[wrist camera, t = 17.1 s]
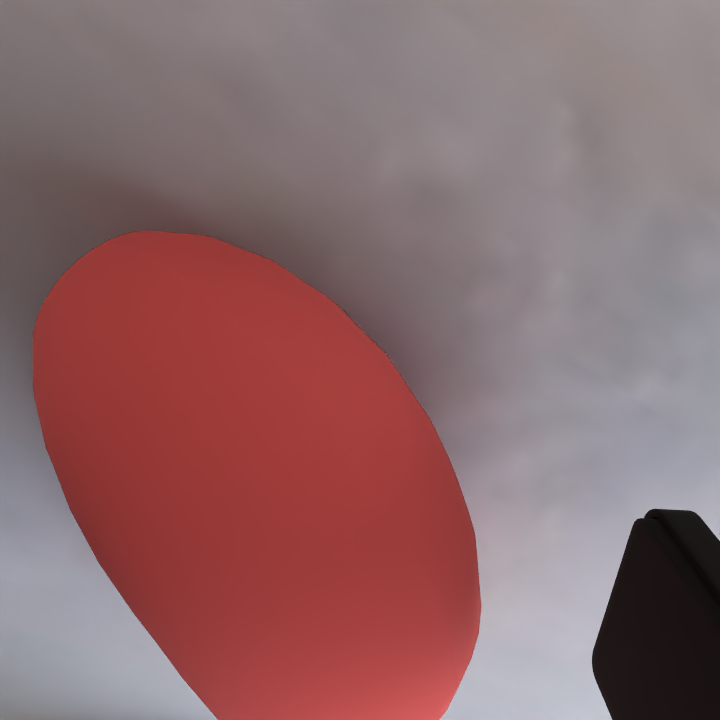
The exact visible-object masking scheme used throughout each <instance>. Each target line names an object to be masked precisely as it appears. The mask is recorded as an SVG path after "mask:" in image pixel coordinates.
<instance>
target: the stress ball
mask: <svg viewBox="0 0 720 720" xmlns="http://www.w3.org/2000/svg"><path fill="white" fill-rule="evenodd" d="M33 390H34V398H35V402H36V407H37V411H38V415H39V420H40V424H41V428H42V433H43V437H44V441H45V446H46V449H47V452H48V454H49V456H50V459H51V461H52V464H53V466H54V469H55V471H56V474H57V477H58V479H59V482H60V484H61V487H62V490H63V492H64V495H65V498H66V500H67V503H68V505H69V508H70V510H71V512H72V514H73V516H74V518H75V519H76V521H77V523H78V525H79V527H80V529H81V531H82V533H83V534H84V536H85V538H86V540H87V542H88V544H89V546H90V547H91V549H92V551H93V553H94V555H95V557H96V559H97V560H98V562H99V564H100V565H101V567H102V568H103V570H104V571H105V573H106V574H107V576H108V577H109V578H110V580H111V581H112V583H113V584H114V586H115V587H116V589H117V590H118V591H119V593H120V594H121V596H122V597H123V599H124V600H125V602H126V603H127V604H128V606H129V607H130V609H131V610H132V612H133V613H134V614H135V616H136V617H137V618H138V619H139V621H140V622H141V623H142V625H143V626H144V627H145V629H146V630H147V631H148V632H149V634H150V635H151V636H152V638H153V639H154V640H155V642H156V643H157V644H158V646H159V647H160V648H161V650H162V651H163V652H164V654H165V655H166V656H167V658H168V659H169V660H170V662H171V663H172V664H173V666H174V667H175V668H176V670H177V671H178V672H179V674H180V675H181V677H182V678H183V679H184V680H185V681H186V683H187V684H188V685H189V686H190V687H191V689H192V690H193V691H194V692H195V693H196V694H197V696H198V697H199V698H200V699H201V700H202V701H203V703H204V704H205V705H206V706H207V707H208V708H209V710H210V711H211V712H212V713H213V714H214V715H215V717H216V718H217V719H218V720H439V719H440V718H441V717H442V715H443V714H444V713H445V712H446V710H447V708H448V706H449V705H450V703H451V701H452V699H453V697H454V695H455V693H456V691H457V689H458V687H459V684H460V682H461V680H462V678H463V676H464V673H465V671H466V669H467V667H468V665H469V662H470V660H471V657H472V654H473V651H474V647H475V644H476V640H477V637H478V633H479V624H480V614H481V599H480V586H479V573H478V561H477V550H476V539H475V533H474V529H473V525H472V522H471V518H470V515H469V512H468V509H467V506H466V503H465V500H464V497H463V494H462V491H461V488H460V485H459V483H458V480H457V477H456V475H455V472H454V469H453V467H452V464H451V462H450V460H449V457H448V455H447V453H446V451H445V448H444V446H443V444H442V442H441V440H440V438H439V436H438V434H437V432H436V430H435V428H434V426H433V424H432V422H431V420H430V418H429V417H428V415H427V414H426V412H425V411H424V409H423V408H422V406H421V405H420V403H419V402H418V400H417V399H416V397H415V396H414V394H413V393H412V391H411V390H410V388H409V387H408V385H407V384H406V382H405V381H404V380H403V378H402V377H401V375H400V374H399V372H398V371H397V369H396V368H395V366H394V365H393V363H392V362H391V360H390V359H389V357H388V356H387V355H386V354H385V353H384V352H383V351H382V350H381V349H380V348H379V347H378V346H377V345H376V344H375V343H374V342H373V341H372V340H371V339H370V338H369V337H368V336H367V335H366V334H365V333H364V332H363V331H362V330H361V329H360V328H359V327H358V326H357V325H356V324H355V323H354V322H353V321H352V320H351V319H350V318H349V317H348V316H347V315H346V314H345V313H344V312H343V311H342V310H341V309H340V308H339V307H338V306H337V305H336V304H335V303H334V302H333V301H332V300H331V299H330V298H328V297H327V296H325V295H324V294H322V293H321V292H319V291H318V290H316V289H315V288H313V287H312V286H310V285H309V284H307V283H306V282H304V281H303V280H301V279H300V278H298V277H297V276H295V275H294V274H292V273H291V272H289V271H288V270H286V269H285V268H283V267H282V266H280V265H279V264H277V263H276V262H274V261H272V260H270V259H267V258H264V257H262V256H259V255H257V254H254V253H251V252H249V251H246V250H244V249H241V248H238V247H236V246H233V245H231V244H228V243H225V242H223V241H220V240H218V239H215V238H212V237H210V236H205V235H196V234H185V233H174V232H162V231H151V230H149V231H136V232H131V233H127V234H123V235H120V236H118V237H115V238H113V239H110V240H108V241H106V242H104V243H103V244H101V245H99V246H97V247H96V248H94V249H92V250H91V251H89V252H88V253H87V254H85V255H84V256H83V257H81V258H80V259H79V260H78V261H76V262H75V263H74V264H73V265H72V266H71V267H70V268H69V269H68V270H67V271H66V272H65V273H64V274H63V275H62V277H61V278H60V279H59V280H58V282H57V283H56V284H55V285H54V287H53V288H52V289H51V291H50V293H49V294H48V296H47V298H46V299H45V301H44V302H43V304H42V307H41V309H40V312H39V314H38V316H37V319H36V323H35V327H34V331H33Z"/></svg>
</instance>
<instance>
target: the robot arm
mask: <svg viewBox="0 0 720 720" xmlns="http://www.w3.org/2000/svg"><path fill="white" fill-rule="evenodd" d="M592 667H593V672H594V676H595V679H596V682H597V684H598V687H599V689H600V691H601V694H602V696H603V698H604V701H605V703H606V706H607V708H608V710H609V713H610V715H611V717H612V720H720V541H719V540H718V539H717V537H716V536H715V535H714V534H713V532H712V531H711V530H710V529H709V528H708V526H707V525H706V524H705V523H704V521H703V520H702V519H701V518H700V517H699V516H698V515H697V514H696V513H695V512H692V511H685V510H666V509H652V510H649V511H648V512H647V514H646V515H645V517H644V518H640V519H637V520H636V521H635V522H634V525H633V527H632V530H631V533H630V536H629V539H628V542H627V546H626V549H625V552H624V555H623V558H622V561H621V564H620V568H619V571H618V574H617V577H616V580H615V583H614V586H613V590H612V593H611V596H610V599H609V602H608V605H607V609H606V612H605V615H604V618H603V621H602V624H601V627H600V631H599V634H598V637H597V640H596V643H595V646H594V649H593V654H592Z"/></svg>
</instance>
